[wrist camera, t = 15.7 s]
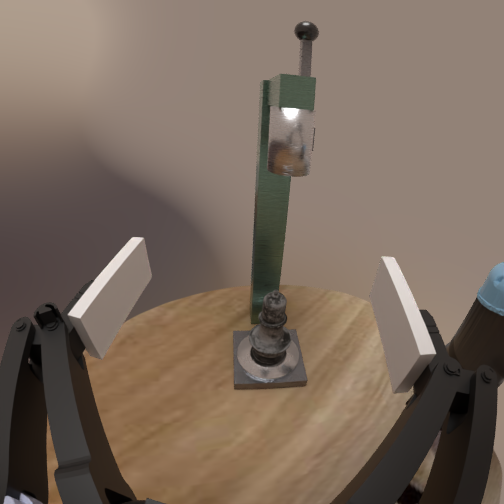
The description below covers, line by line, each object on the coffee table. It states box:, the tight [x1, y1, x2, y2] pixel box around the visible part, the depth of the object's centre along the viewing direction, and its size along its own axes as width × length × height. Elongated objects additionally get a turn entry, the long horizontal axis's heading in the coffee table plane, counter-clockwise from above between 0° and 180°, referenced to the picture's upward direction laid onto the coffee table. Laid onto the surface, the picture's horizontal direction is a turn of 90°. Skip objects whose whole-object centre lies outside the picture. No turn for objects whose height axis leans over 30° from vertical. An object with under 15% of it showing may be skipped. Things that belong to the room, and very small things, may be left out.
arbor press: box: [233, 21, 319, 389], centre depth 31 cm, size 10×17×46 cm, turn 3°
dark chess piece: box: [249, 289, 292, 367], centre depth 36 cm, size 6×6×12 cm
